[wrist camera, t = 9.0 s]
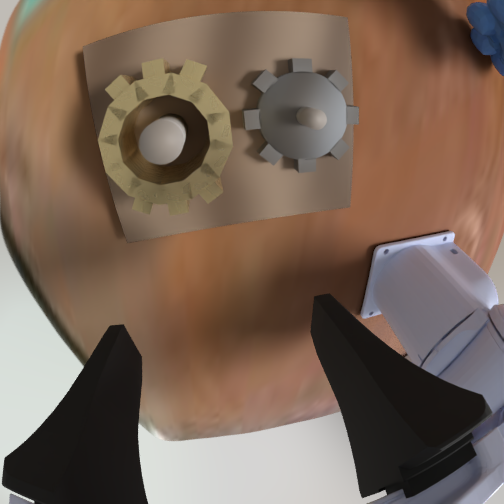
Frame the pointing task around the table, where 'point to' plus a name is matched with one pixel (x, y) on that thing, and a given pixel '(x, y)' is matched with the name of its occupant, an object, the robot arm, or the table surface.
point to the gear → (154, 175)
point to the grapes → (488, 30)
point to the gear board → (241, 113)
